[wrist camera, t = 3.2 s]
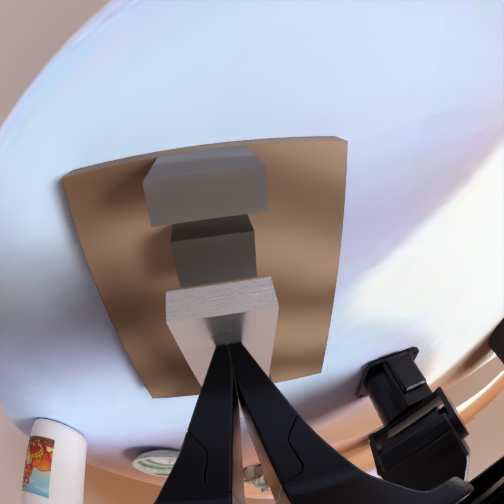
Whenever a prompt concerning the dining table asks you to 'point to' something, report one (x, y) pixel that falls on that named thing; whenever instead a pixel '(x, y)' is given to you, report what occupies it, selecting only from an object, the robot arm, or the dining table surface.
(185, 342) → the bar
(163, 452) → the saucer
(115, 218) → the base
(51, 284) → the dining table surface
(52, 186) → the dining table surface
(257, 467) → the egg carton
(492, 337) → the mug
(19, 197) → the dining table surface
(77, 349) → the dining table surface
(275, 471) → the robot arm
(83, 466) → the milk bottle
